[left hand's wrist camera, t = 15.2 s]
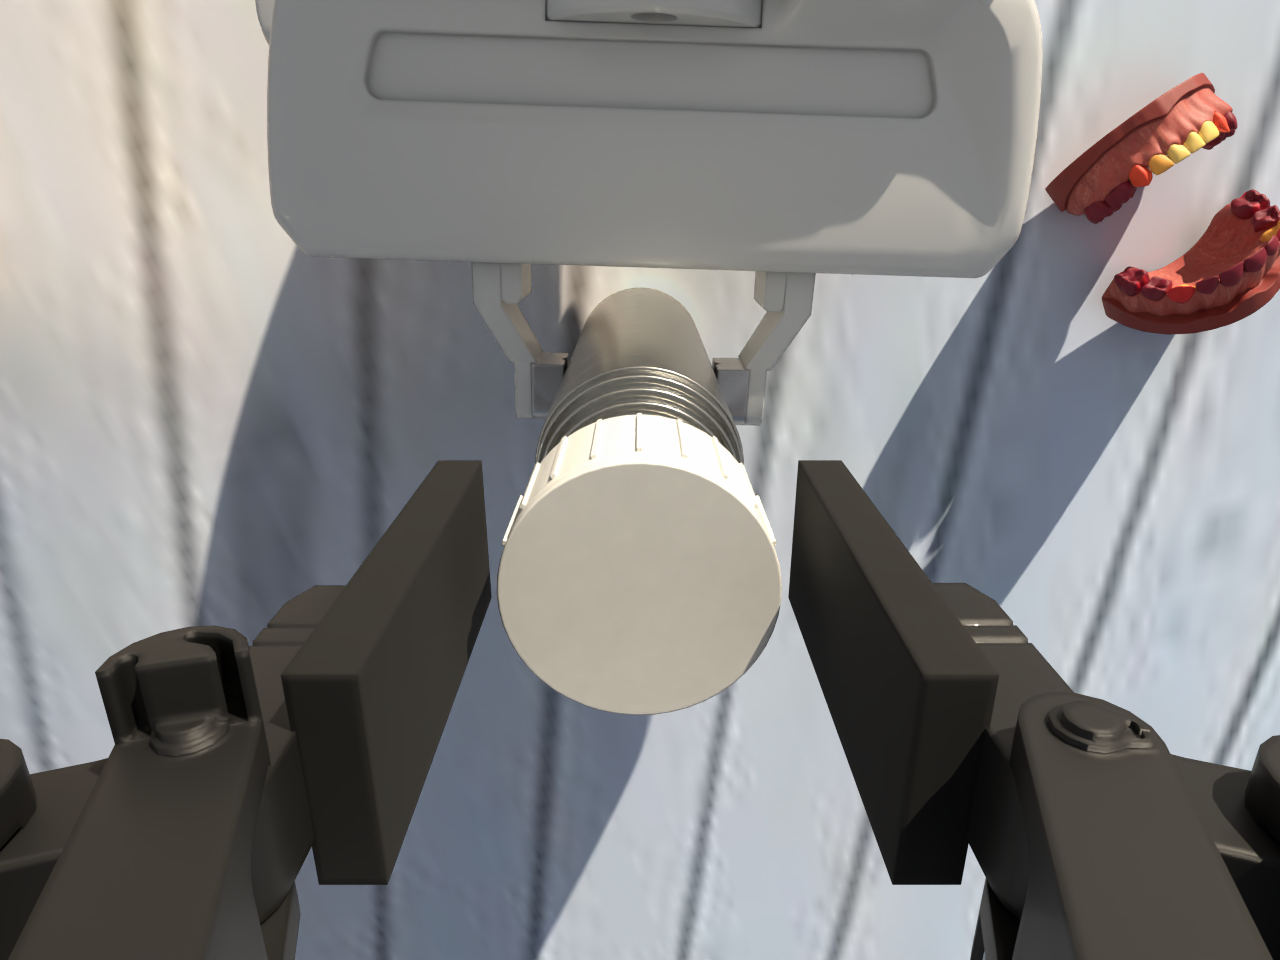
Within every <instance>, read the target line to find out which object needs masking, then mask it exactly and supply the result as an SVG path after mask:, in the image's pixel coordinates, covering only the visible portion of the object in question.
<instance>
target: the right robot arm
mask: <svg viewBox="0 0 1280 960" xmlns="http://www.w3.org/2000/svg"><path fill="white" fill-rule="evenodd" d="M255 1H256V10H257V15H258V19H259V22H260V25H261V28H262V32H263V34H264V36H265V38H266V40H267V42H268V44H269V60H268V88H267V141H268V165H269V182H270V194H271V204H272V209H273V214H274V216H275V218H276V220H277V222H278V223H279V225H280V226H281V227H282V228H283V229H284V231H285V232H286V233H287V234H288V235H289V237H290V238H291V239H292V240H293V241H294V243H295V244H296V245H297V246H298V247H299V248H300V249H301V250H302V251H303V252H304V253H305V254H307V255H310V256H315V257H341V258H372V259H402V260H433V261H464V262H472V279H473V303H474V305H475V307H476V308H477V310H478V311H479V313H480V315H481V316H482V318H483V319H484V321H485V323H486V324H487V326H488V328H489V329H490V331H491V332H492V334H493V336H494V337H495V339H496V341H497V342H498V344H499V345H500V347H501V349H502V350H503V352H504V354H505V355H506V357H507V358H508V360H509V362H513V363H514V378H515V411H516V416H517V418H527V419H533V418H541V419H546V418H547V416H548V414H549V411H550V409H551V406H552V404H553V401H554V399H555V396H556V394H557V391H558V389H559V386H560V384H561V382H562V379H563V377H564V374H565V372H566V369H567V367H568V353H553V352H542V351H543V350H542V348H541V346H540V345H539V343H538V341H537V339H536V337H535V336H534V334H533V332H532V330H531V328H530V327H529V325H528V323H527V321H526V319H525V318H524V316H523V314H522V312H521V310H520V309H519V307H518V305H517V304H519V303H520V302H521V301H522V300H523V299H524V298H525V297H526V296H527V295H528V294H529V293H530V292H531V264H555V265H586V266H617V267H647V268H678V269H708V270H739V271H756V272H755V287H754V299H755V300H756V302H757V303H758V304H759V305H760V306H762V307H763V308H764V309H765V310H766V311H767V313H766V314H765V316H764V317H763V319H762V321H761V322H760V324H759V325H758V327H757V328H756V330H755V331H754V333H753V335H752V336H751V338H750V339H749V341H748V342H747V344H746V345H745V347H744V348H743V350H742V352H741V353H740V355H739V356H738V357H739V358H713V363H712V368H713V370H714V373H715V375H716V378H717V380H718V383H719V385H720V388H721V390H722V393H723V395H724V398H725V400H726V403H727V406H728V408H729V411H730V413H731V416H732V418H733V421H734V423H735V425H757V426H760V424H761V422H762V418H763V410H764V399H765V387H766V376H767V370H772V369H773V367H774V366H775V364H776V363H777V362H778V360H779V359H780V357H781V356H782V355H783V353H784V352H785V350H786V349H787V348H788V346H789V345H790V343H791V342H792V341H793V339H794V338H795V336H796V335H797V334H798V332H799V331H800V329H801V328H802V327H803V325H804V324H805V322H806V321H807V319H808V318H809V317H810V315H811V310H812V301H813V292H814V283H815V273H831V274H861V275H892V276H923V277H954V278H979V277H982V276H984V275H985V274H987V273H988V272H989V271H990V270H991V269H992V268H993V267H994V266H995V265H996V264H997V263H998V262H999V261H1000V260H1001V259H1002V257H1003V256H1004V255H1005V254H1006V253H1007V252H1008V251H1009V250H1010V249H1011V248H1012V247H1013V245H1014V244H1015V242H1016V241H1017V239H1018V237H1019V234H1020V231H1021V228H1022V224H1023V220H1024V216H1025V211H1026V206H1027V200H1028V195H1029V189H1030V183H1031V176H1032V169H1033V163H1034V155H1035V146H1036V138H1037V128H1038V118H1039V107H1040V92H1041V77H1042V55H1043V54H1042V33H1041V24H1040V19H1039V15H1038V11H1037V7H1036V4H1035V1H1034V0H255Z"/></svg>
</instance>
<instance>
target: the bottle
mask: <svg viewBox="0 0 1280 960" xmlns="http://www.w3.org/2000/svg"><path fill="white" fill-rule="evenodd" d="M637 413H642V415H653V416H661V417H666V418H670V419H675V420H677V419H680V420H682V422H683V423H686V424H689V425H691V426H693V427H695V428H697V429H699V430H701V431H703V432H705V433H706V434H708V435H709V436H711V437H713V436H715V437H716V438H717V440H718V442H719V443H720V444H721V445H722V446H723V447H724V448H726V449H727V450H728V451H729V452H730V453H731V455H732V456H733V457H734V458H735V459H736V461H737V462H738V463H739V464H740V463H742V464H743V465H744V457H743V449H742V444H741V440H740V436H739V433H738V431H737V428H736V426H735V423H734V421H733V418H732V416H731V413H730V411H729V408H728V406H727V403H726V400H725V398H724V395H723V393H722V390H721V388H720V385H719V383H718V380H717V378H716V375H715V373H714V370H713V368H712V365H711V363H710V360H709V358H708V355H707V353H706V350H705V348H704V345H703V343H702V340H701V338H700V335H699V333H698V330H697V328H696V325H695V323H694V321H693V319H692V317H691V316H690V314H689V313H688V311H687V310H686V309H685V307H684V306H682V305H681V304H680V303H679V302H678V301H677V300H676V299H674V298H673V297H671V296H669V295H668V294H666V293H663V292H661V291H658V290H654V289H650V288H631V289H625V290H622V291H619V292H617V293H614V294H612V295H610V296H609V297H607V298H606V299H604V300H603V301H602V302H601V303H599V304H598V305H597V306H596V308H595V309H594V310H593V311H592V313H591V314H590V315H589V317H588V319H587V321H586V323H585V325H584V327H583V330H582V332H581V335H580V337H579V340H578V342H577V345H576V347H575V350H574V352H573V355H572V357H571V359H570V362H569V364H568V367H567V369H566V372H565V374H564V377H563V379H562V382H561V384H560V386H559V389H558V391H557V394H556V396H555V399H554V401H553V404H552V406H551V409H550V411H549V414H548V416H547V418H546V421H545V423H544V426H543V428H542V431H541V434H540V437H539V440H538V445H537V450H536V462H535V465H536V464H537V462H538V463H541V462H542V460H543V459H544V458H545V457H546V456H547V454H548V453H549V452H550V451H551V450H552V449H553V448H554V447H555V446H556V445H558V444H559V443H560V442H561V439H562V438H563V437H564V436H566V437H568V436H569V435H571V434H573V433H574V432H576V431H578V430H579V429H581V428H583V427H586V426H588V425H590V424H592V423H595V422H597V420H599V419H602V420H605V419H608V418H612V417H618V416H624V415H637Z"/></svg>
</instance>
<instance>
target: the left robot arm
mask: <svg viewBox="0 0 1280 960" xmlns="http://www.w3.org/2000/svg"><path fill="white" fill-rule="evenodd" d="M490 600H491V584H490V571H489V557H488V543H487V530H486V516H485V502H484V489H483V475H482V461H438V462H437V463H436V465H435V466H434V467H433V469H432V470H431V471H430V473H429V474H428V476H427V477H426V478H425V480H424V481H423V482H422V484H421V485H420V486H419V488H418V489H417V490H416V492H415V493H414V494H413V496H412V497H411V499H410V500H409V501H408V503H407V504H406V505H405V507H404V508H403V509H402V511H401V512H400V513H399V515H398V516H397V518H396V519H395V520H394V522H393V523H392V524H391V526H390V527H389V528H388V530H387V531H386V532H385V534H384V535H383V537H382V538H381V539H380V541H379V542H378V543H377V545H376V546H375V547H374V549H373V550H372V551H371V553H370V554H369V555H368V557H367V558H366V560H365V561H364V562H363V564H362V565H361V566H360V568H359V569H358V570H357V572H356V573H355V574H354V576H353V577H352V579H351V580H350V581H349V583H348V584H347V585H346V586H314V587H312V588H310V589H309V590H307V591H305V592H304V593H302V594H300V595H299V596H297V597H295V598H294V599H292V600H290V601H289V602H287V603H285V604H284V606H283V607H282V608H281V609H280V610H279V612H278V613H277V614H276V615H275V616H274V617H273V619H272V620H271V621H270V622H269V623H268V627H267V628H264V629H263V630H262V631H261V633H260V634H259V635H258V636H257V637H256V638H255V640H254V641H253V646H249V647H248V642H247V638H246V637H245V636H243V635H242V634H240V633H239V632H238V631H236V630H235V629H229V628H224V627H219V626H198V627H186V628H182V629H177V630H172V631H167V632H163V633H159V634H156V635H154V636H151V637H148V638H146V639H143V640H140V641H138V642H135V643H133V644H131V645H129V646H128V647H126V648H124V649H122V650H121V651H119V652H117V653H116V654H114V655H112V656H111V657H109V658H108V659H107V660H106V661H105V662H104V663H103V664H102V666H101V667H100V668H99V669H98V670H97V671H96V672H95V674H96V677H97V681H98V685H99V688H100V692H101V695H102V699H103V703H104V706H105V710H106V713H107V717H108V720H109V724H110V728H111V731H112V735H113V738H114V742H115V746H114V748H113V750H112V752H111V754H110V756H109V758H107V759H103V760H99V761H95V762H90V763H85V764H80V765H75V766H70V767H65V768H60V769H55V770H50V771H45V772H40V773H35V774H29V771H28V768H27V765H26V762H25V759H24V756H23V753H22V750H21V748H19V747H18V746H16V745H15V744H14V743H12V742H11V741H10V740H6V739H0V960H295V953H296V945H297V937H298V929H299V921H300V908H299V901H298V895H297V890H296V885H295V879H296V877H297V875H298V873H299V871H300V869H301V867H302V865H303V863H304V861H305V859H306V857H307V855H308V853H309V851H310V849H311V847H312V849H313V854H314V860H315V865H316V871H317V876H318V881H319V885H387V884H388V882H389V879H390V876H391V873H392V871H393V868H394V865H395V862H396V860H397V857H398V854H399V851H400V849H401V846H402V843H403V840H404V837H405V835H406V832H407V829H408V826H409V824H410V821H411V818H412V815H413V813H414V810H415V807H416V804H417V802H418V799H419V796H420V793H421V791H422V788H423V785H424V782H425V780H426V777H427V774H428V771H429V768H430V766H431V763H432V760H433V757H434V755H435V752H436V749H437V746H438V744H439V741H440V738H441V735H442V733H443V730H444V727H445V724H446V722H447V719H448V716H449V713H450V711H451V708H452V705H453V702H454V699H455V697H456V694H457V691H458V688H459V686H460V683H461V680H462V677H463V675H464V672H465V669H466V666H467V664H468V661H469V658H470V655H471V653H472V650H473V647H474V644H475V642H476V639H477V636H478V633H479V630H480V628H481V625H482V622H483V619H484V617H485V614H486V611H487V608H488V606H489V603H490ZM789 600H790V603H791V606H792V608H793V611H794V614H795V617H796V619H797V622H798V625H799V628H800V630H801V633H802V636H803V639H804V642H805V644H806V647H807V650H808V653H809V655H810V658H811V661H812V664H813V666H814V669H815V672H816V675H817V677H818V680H819V683H820V686H821V688H822V691H823V694H824V697H825V699H826V702H827V705H828V708H829V711H830V713H831V716H832V719H833V722H834V724H835V727H836V730H837V733H838V735H839V738H840V741H841V744H842V746H843V749H844V752H845V755H846V757H847V760H848V763H849V766H850V768H851V771H852V774H853V777H854V780H855V782H856V785H857V788H858V791H859V793H860V796H861V799H862V802H863V804H864V807H865V810H866V813H867V815H868V818H869V821H870V824H871V826H872V829H873V832H874V835H875V837H876V840H877V843H878V846H879V849H880V851H881V854H882V857H883V860H884V862H885V865H886V868H887V871H888V873H889V876H890V879H891V882H892V884H893V885H961V881H962V876H963V871H964V865H965V860H966V854H967V849H968V843H969V845H970V847H971V849H972V851H973V852H974V854H975V856H976V858H977V860H978V862H979V864H980V866H981V868H982V870H983V872H984V874H985V876H986V880H985V885H984V890H983V895H982V900H981V905H980V910H979V915H978V920H977V925H976V930H975V936H974V941H973V946H972V951H971V958H970V960H982V959H983V954H984V951H985V958H986V960H1280V735H1278V736H1272V737H1271V738H1269V739H1268V740H1267V741H1265V742H1264V743H1262V744H1261V745H1260V747H1259V750H1258V753H1257V756H1256V759H1255V762H1254V765H1253V768H1252V771H1248V770H1243V769H1238V768H1233V767H1228V766H1223V765H1218V764H1213V763H1208V762H1203V761H1198V760H1193V759H1188V758H1184V757H1180V756H1176V755H1172V754H1170V752H1169V750H1168V748H1167V746H1166V744H1165V743H1164V742H1163V740H1162V739H1161V738H1160V737H1159V735H1158V734H1157V733H1156V732H1155V730H1154V729H1153V728H1152V727H1151V726H1150V725H1148V724H1147V723H1145V722H1144V721H1143V720H1141V719H1140V718H1138V717H1137V716H1135V715H1134V714H1132V713H1131V712H1130V711H1127V710H1125V709H1123V708H1120V707H1118V706H1116V705H1114V704H1111V703H1109V702H1107V701H1104V700H1101V699H1097V698H1093V697H1089V696H1085V695H1081V694H1077V693H1074V692H1073V691H1072V690H1071V689H1070V687H1069V686H1068V685H1067V684H1066V683H1065V682H1064V680H1063V679H1062V678H1061V677H1060V676H1059V675H1058V673H1057V672H1056V671H1055V670H1054V669H1053V668H1052V666H1051V665H1050V664H1049V663H1048V662H1047V661H1046V659H1045V658H1044V657H1043V656H1042V655H1041V654H1040V652H1039V651H1038V650H1037V649H1036V648H1035V647H1034V645H1033V644H1032V643H1028V638H1027V637H1026V636H1025V635H1024V634H1023V633H1022V631H1021V630H1020V629H1019V628H1018V627H1017V626H1013V621H1012V620H1011V619H1010V618H1009V616H1008V615H1007V614H1006V613H1005V612H1004V611H1003V609H1002V608H1001V607H1000V606H999V605H998V604H997V602H996V601H995V600H993V599H991V598H990V597H988V596H986V595H985V594H983V593H981V592H980V591H978V590H976V589H975V588H973V587H971V586H970V585H968V584H966V583H931V581H930V580H929V579H928V577H927V576H926V574H925V573H924V572H923V570H922V569H921V568H920V566H919V565H918V564H917V562H916V561H915V560H914V558H913V557H912V555H911V554H910V553H909V551H908V550H907V549H906V547H905V546H904V545H903V543H902V542H901V541H900V539H899V538H898V537H897V535H896V534H895V532H894V531H893V530H892V528H891V527H890V526H889V524H888V523H887V522H886V520H885V519H884V518H883V516H882V515H881V513H880V512H879V511H878V509H877V508H876V507H875V505H874V504H873V503H872V501H871V500H870V499H869V497H868V496H867V494H866V493H865V492H864V490H863V489H862V488H861V486H860V485H859V484H858V482H857V481H856V480H855V478H854V477H853V476H852V474H851V473H850V471H849V470H848V469H847V467H846V466H845V465H844V463H843V462H842V461H798V475H797V489H796V502H795V516H794V530H793V543H792V557H791V571H790V585H789Z"/></svg>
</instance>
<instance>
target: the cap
mask: <svg viewBox="0 0 1280 960" xmlns="http://www.w3.org/2000/svg"><path fill="white" fill-rule="evenodd" d="M502 545H504V546H505V547H504V550H503V553H502V556H501V559H500V564H499V569H498V575H497V599H498V607H499V612H500V616H501V620H502V623H503V626H504V629H505V631H506V633H507V636H508V638H509V640H510V642H511V644H512V645H513V647H514V649H515V650H516V652H517V654H518V655H519V657H520V658H521V659H522V660H523V662H524V663H525V664H526V665H527V667H528V668H529V669H530V670H531V671H532V672H533V673H534V674H535V675H536V676H537V677H538V678H539V679H540V680H542V681H543V682H544V683H546V684H547V685H548V686H550V687H551V688H552V689H554V690H555V691H557V692H559V693H560V694H562V695H564V696H565V697H567V698H569V699H571V700H573V701H576V702H578V703H580V704H583V705H585V706H588V707H592V708H595V709H598V710H601V711H607V712H612V713H617V714H628V715H653V714H660V713H667V712H673V711H676V710H680V709H684V708H688V707H690V706H693V705H696V704H698V703H701V702H703V701H705V700H707V699H709V698H711V697H713V696H715V695H717V694H719V693H720V692H722V691H723V690H725V689H726V688H728V687H729V686H730V685H732V684H733V683H734V682H736V681H737V680H738V679H739V678H740V677H741V676H742V675H743V674H745V673H746V672H747V670H748V669H749V668H750V667H751V666H752V665H753V664H754V662H755V661H756V660H757V659H758V657H759V656H760V654H761V653H762V651H763V650H764V648H765V647H766V645H767V643H768V641H769V639H770V637H771V635H772V633H773V630H774V627H775V624H776V621H777V618H778V615H779V609H780V603H781V588H782V581H781V573H780V566H779V562H778V558H777V555H776V551H775V548H774V546H775V545H777V543H776V540H775V537H774V535H773V532H772V530H771V527H770V524H769V522H768V519H767V517H766V514H765V511H764V509H763V506H762V503H761V501H760V498H759V496H758V495H757V496H755V494H754V492H753V489H752V486H751V484H750V481H749V478H748V476H747V473H746V470H745V467H744V465H743V464H742V463H740V464H739V463H738V462H737V461H736V459H735V458H734V457H733V456H732V455H731V453H730V452H729V451H728V450H727V449H726V448H724V447H723V446H722V445H721V444H720V443H719V442H718V440H717V438H716V437H715V436H713V437H711V436H709V435H708V434H706V433H705V432H703V431H701V430H699V429H697V428H695V427H693V426H691V425H689V424H686V423H683V422H682V420H680V419H677V420H675V419H670V418H666V417H661V416H653V415H642V413H637V415H624V416H618V417H612V418H608V419H605V420H602V419H599V420H597V422H595V423H592V424H590V425H588V426H586V427H583V428H581V429H579V430H578V431H576V432H574V433H573V434H571V435H569V436H568V437H566V436H564V437H563V438H562V439H561V442H560V443H559V444H558V445H556V446H555V447H554V448H553V449H552V450H551V451H550V452H549V453H548V454H547V456H546V457H545V458H544V459H543V460H542V462H541V463H538V462H537V464H536V465H535V467H534V470H533V472H532V475H531V478H530V480H529V483H528V486H527V488H526V491H525V493H524V496H522V495H520V498H519V500H518V503H517V505H516V508H515V510H514V513H513V516H512V518H511V521H510V523H509V526H508V528H507V531H506V533H505V536H504V539H503V541H502Z"/></svg>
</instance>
